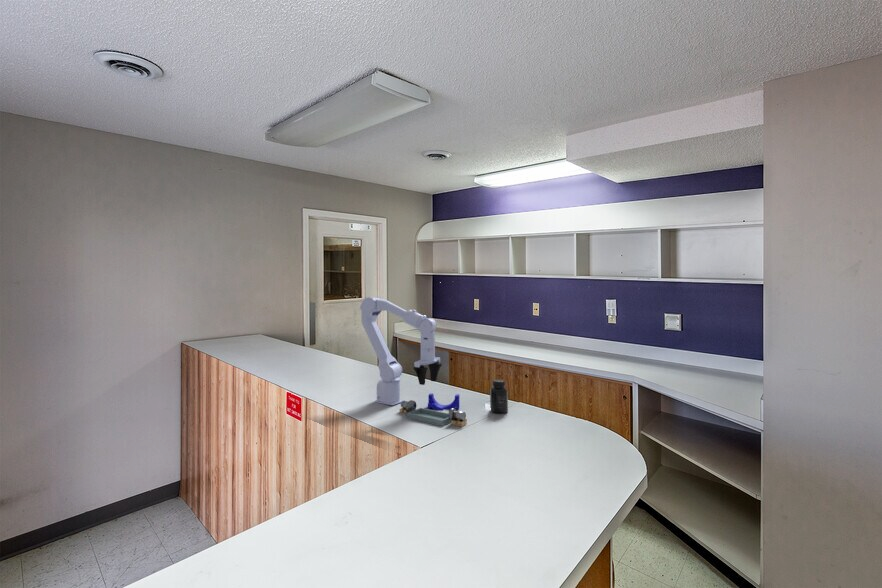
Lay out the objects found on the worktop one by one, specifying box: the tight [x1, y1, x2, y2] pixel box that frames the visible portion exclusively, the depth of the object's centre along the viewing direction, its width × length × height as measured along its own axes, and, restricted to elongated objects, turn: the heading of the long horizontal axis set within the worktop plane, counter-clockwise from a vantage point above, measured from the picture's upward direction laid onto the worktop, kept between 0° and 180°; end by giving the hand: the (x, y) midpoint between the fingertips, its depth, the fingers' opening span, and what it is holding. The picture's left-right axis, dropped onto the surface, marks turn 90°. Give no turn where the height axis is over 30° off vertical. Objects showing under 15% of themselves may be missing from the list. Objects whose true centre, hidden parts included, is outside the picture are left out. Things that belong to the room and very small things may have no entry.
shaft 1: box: [399, 399, 417, 416], centre depth 158 cm, size 5×4×5 cm
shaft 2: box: [448, 407, 468, 428], centre depth 145 cm, size 5×4×5 cm
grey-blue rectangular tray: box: [406, 407, 452, 427], centre depth 151 cm, size 16×8×2 cm, turn 55°
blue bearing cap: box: [427, 393, 460, 411], centre depth 163 cm, size 12×4×6 cm, turn 82°
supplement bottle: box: [489, 379, 509, 415], centre depth 160 cm, size 7×7×12 cm
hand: (427, 382), depth 164 cm, fingers open, 7 cm apart
